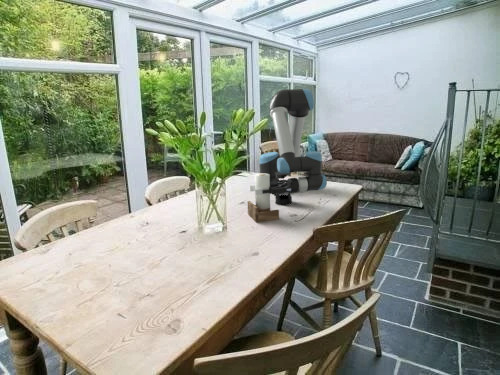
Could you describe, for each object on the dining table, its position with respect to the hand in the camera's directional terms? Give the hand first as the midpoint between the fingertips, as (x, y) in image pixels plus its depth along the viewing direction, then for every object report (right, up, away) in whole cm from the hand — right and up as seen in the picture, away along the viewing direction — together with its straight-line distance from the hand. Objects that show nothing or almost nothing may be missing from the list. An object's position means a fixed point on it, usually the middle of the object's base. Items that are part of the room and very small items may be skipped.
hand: (252, 190), depth 160 cm
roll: (+5, -8, +4) cm, 10 cm away
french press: (+17, -7, +26) cm, 32 cm away
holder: (+5, -13, +5) cm, 15 cm away
